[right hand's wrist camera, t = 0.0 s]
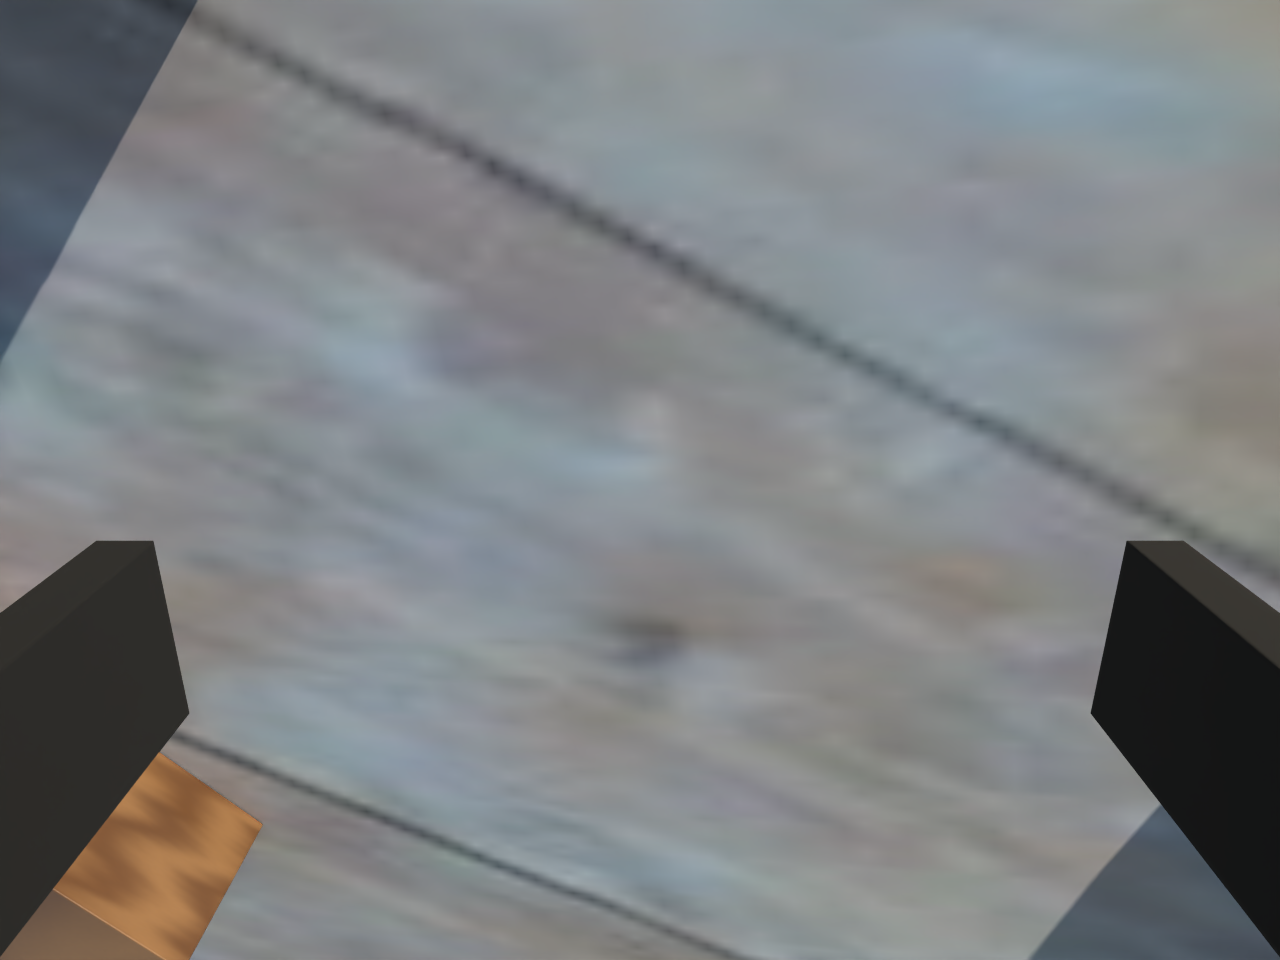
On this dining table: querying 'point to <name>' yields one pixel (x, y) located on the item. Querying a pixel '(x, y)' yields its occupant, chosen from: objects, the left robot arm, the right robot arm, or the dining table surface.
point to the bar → (144, 875)
